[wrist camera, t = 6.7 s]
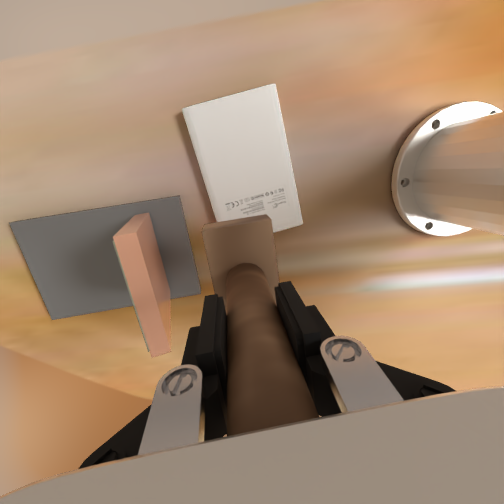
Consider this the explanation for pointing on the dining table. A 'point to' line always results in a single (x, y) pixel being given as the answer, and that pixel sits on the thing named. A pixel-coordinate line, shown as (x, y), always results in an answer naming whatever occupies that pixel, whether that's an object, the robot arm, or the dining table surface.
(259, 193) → the external hard drive
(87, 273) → the mat
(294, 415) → the tool
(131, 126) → the dining table surface
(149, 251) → the tile
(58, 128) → the dining table surface
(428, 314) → the dining table surface
